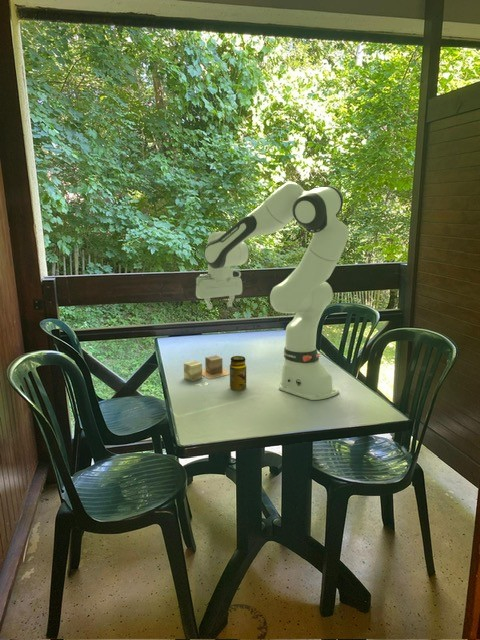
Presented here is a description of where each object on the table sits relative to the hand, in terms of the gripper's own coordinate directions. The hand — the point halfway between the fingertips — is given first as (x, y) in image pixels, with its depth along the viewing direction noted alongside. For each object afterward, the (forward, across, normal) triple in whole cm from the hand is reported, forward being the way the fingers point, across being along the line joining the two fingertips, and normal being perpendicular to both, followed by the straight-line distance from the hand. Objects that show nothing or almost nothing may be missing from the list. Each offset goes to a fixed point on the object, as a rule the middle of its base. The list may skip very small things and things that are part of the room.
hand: (219, 307), depth 175 cm
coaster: (+26, -5, -3) cm, 27 cm away
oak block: (+26, -15, -3) cm, 30 cm away
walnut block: (+26, -5, -2) cm, 26 cm away
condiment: (+27, -7, -22) cm, 35 cm away
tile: (+26, -15, -11) cm, 32 cm away
